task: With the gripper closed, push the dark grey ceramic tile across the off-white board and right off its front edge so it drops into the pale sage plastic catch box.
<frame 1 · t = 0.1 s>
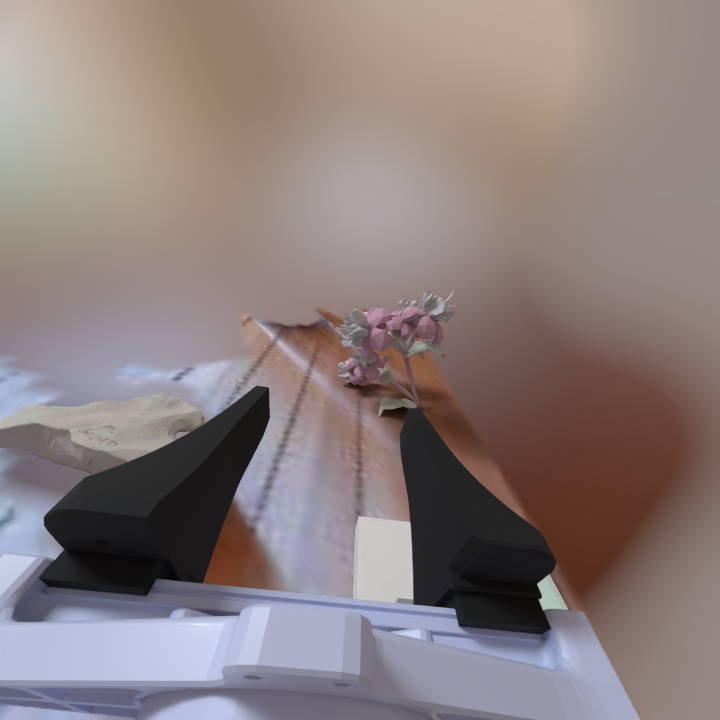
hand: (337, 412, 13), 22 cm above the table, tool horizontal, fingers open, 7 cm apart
white board: (410, 648, 21), on the table
catch box: (526, 659, 22), on the table
rock: (128, 438, 36), on the table
flower: (368, 394, 54), on the table
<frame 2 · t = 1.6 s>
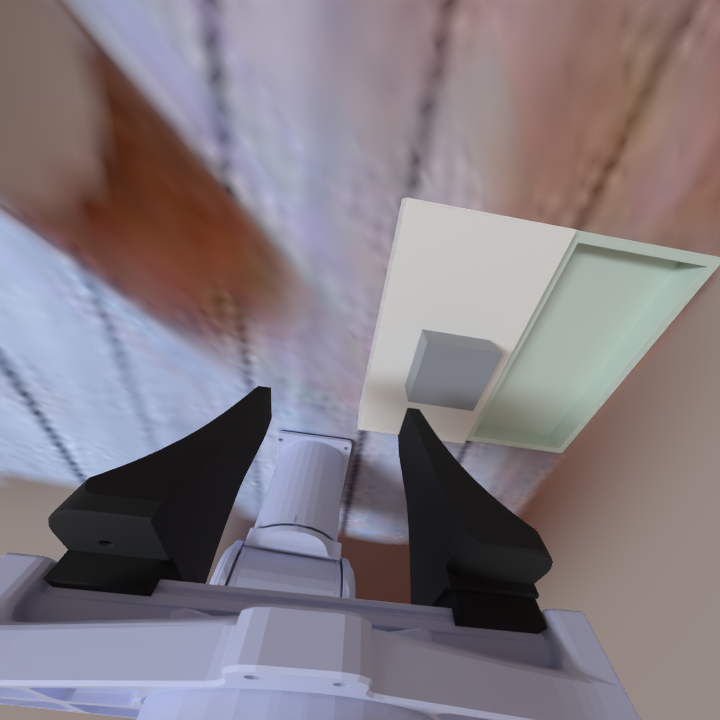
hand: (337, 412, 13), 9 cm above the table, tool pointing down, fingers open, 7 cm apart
grey tile: (444, 364, 20), point 2 cm above the table, touching white board
white board: (435, 337, 21), on the table
catch box: (551, 355, 22), on the table
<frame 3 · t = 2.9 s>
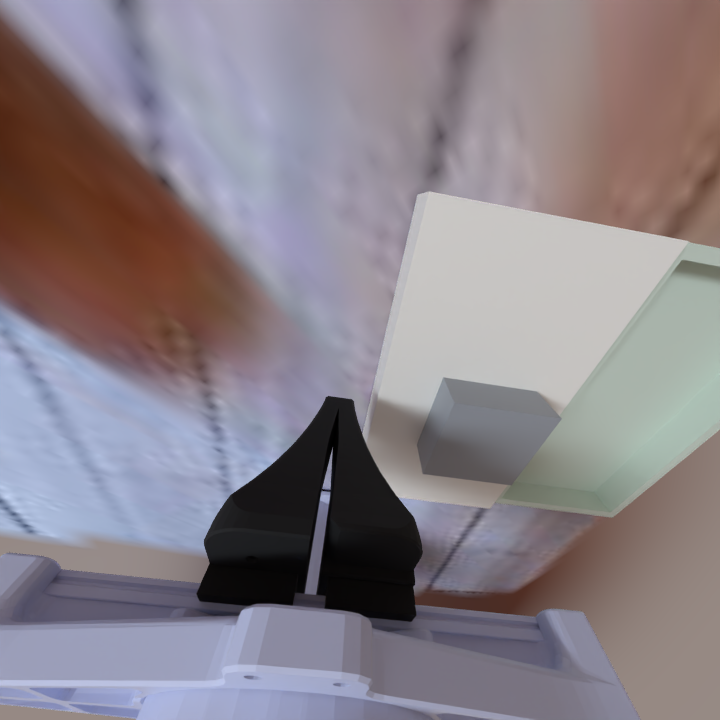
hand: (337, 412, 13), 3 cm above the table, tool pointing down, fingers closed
grey tile: (472, 420, 14), point 2 cm above the table, touching white board
white board: (456, 378, 16), on the table
catch box: (607, 401, 17), on the table
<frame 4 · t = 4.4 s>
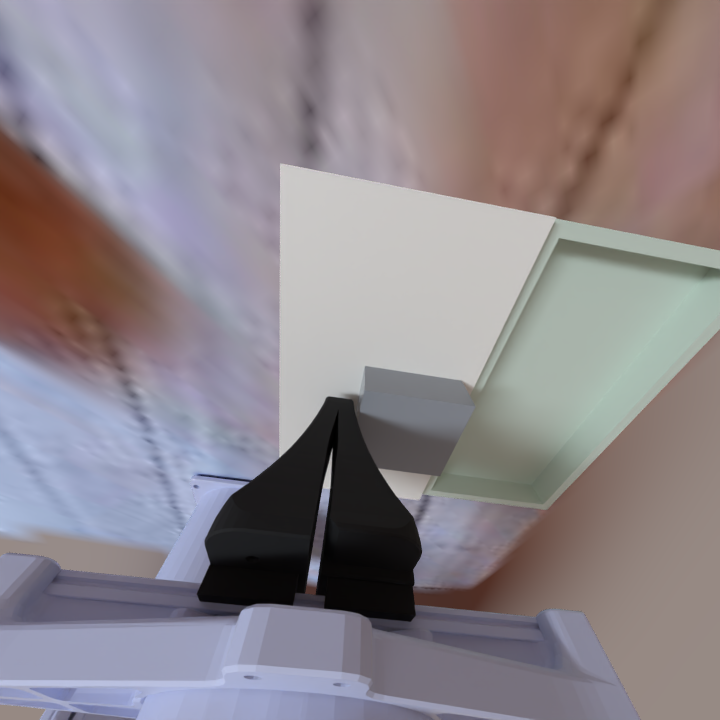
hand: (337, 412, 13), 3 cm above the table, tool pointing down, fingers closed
grey tile: (401, 410, 14), point 2 cm above the table, touching gripper, white board
white board: (373, 366, 16), on the table
catch box: (529, 390, 16), on the table
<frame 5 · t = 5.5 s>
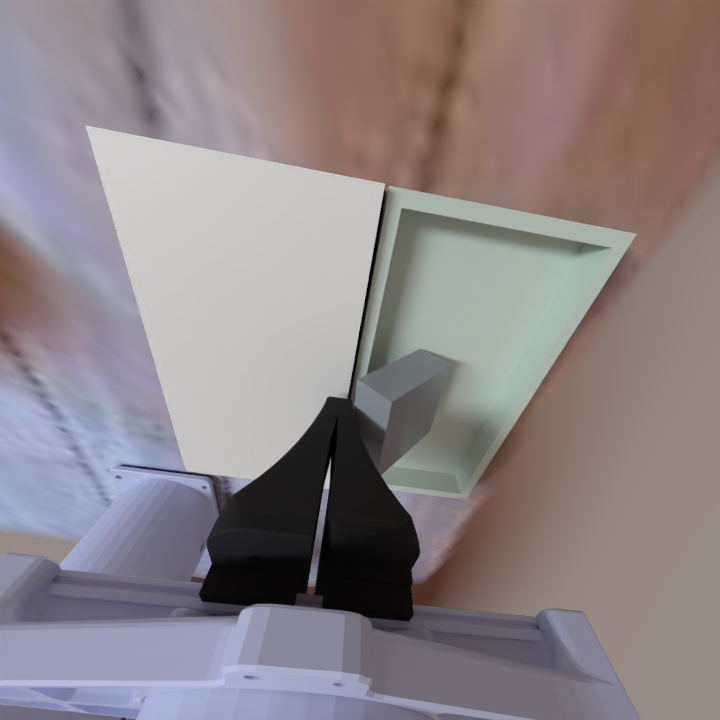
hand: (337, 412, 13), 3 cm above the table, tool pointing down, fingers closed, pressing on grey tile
grey tile: (385, 400, 14), point 2 cm above the table, tilted 46°, touching catch box, gripper
white board: (269, 350, 15), on the table
catch box: (433, 375, 16), on the table
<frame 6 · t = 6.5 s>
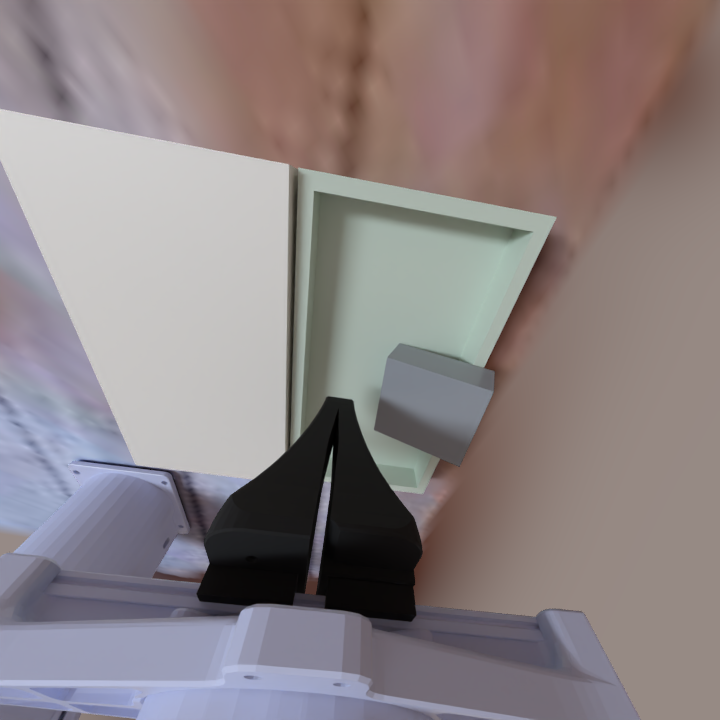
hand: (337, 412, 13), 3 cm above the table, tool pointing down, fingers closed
grey tile: (424, 413, 13), point 3 cm above the table, tilted 156°, touching catch box
white board: (213, 342, 15), on the table
catch box: (380, 367, 16), on the table
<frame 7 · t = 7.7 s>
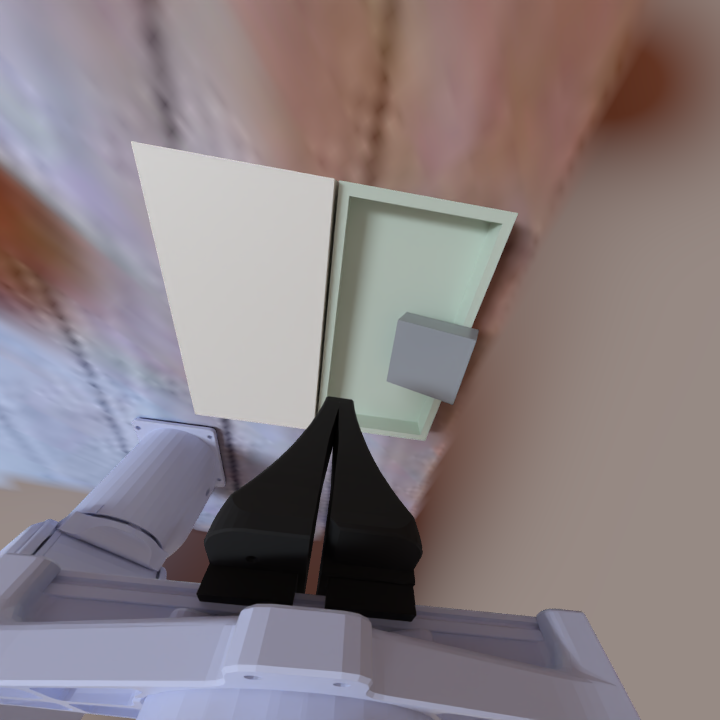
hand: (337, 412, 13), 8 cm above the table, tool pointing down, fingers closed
grey tile: (426, 363, 17), point 3 cm above the table, tilted 156°, touching catch box
white board: (260, 312, 19), on the table
catch box: (391, 333, 20), on the table
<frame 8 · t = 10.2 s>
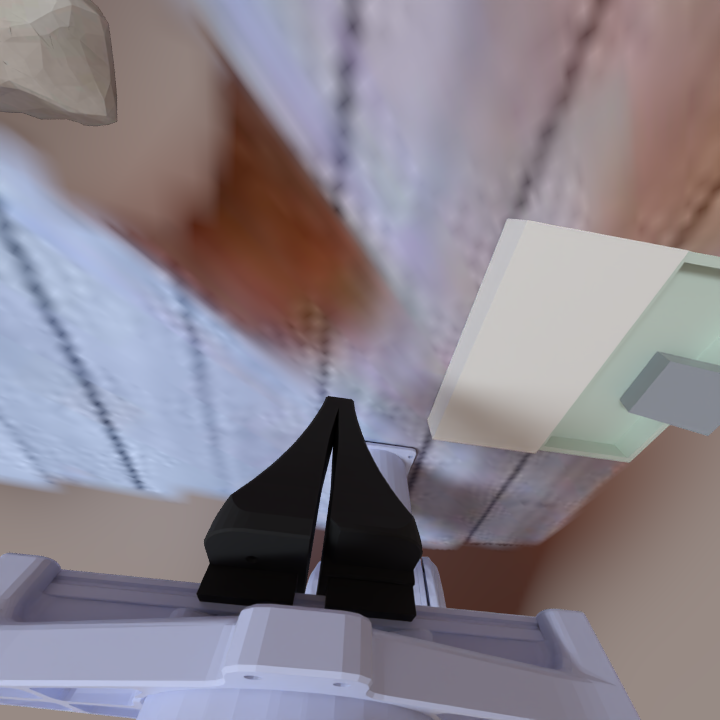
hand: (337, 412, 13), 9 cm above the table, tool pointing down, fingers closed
grey tile: (689, 399, 20), point 3 cm above the table, tilted 156°, touching catch box
white board: (516, 350, 22), on the table
catch box: (628, 368, 22), on the table
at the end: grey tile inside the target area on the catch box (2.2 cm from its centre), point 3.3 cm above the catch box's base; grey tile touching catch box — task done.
